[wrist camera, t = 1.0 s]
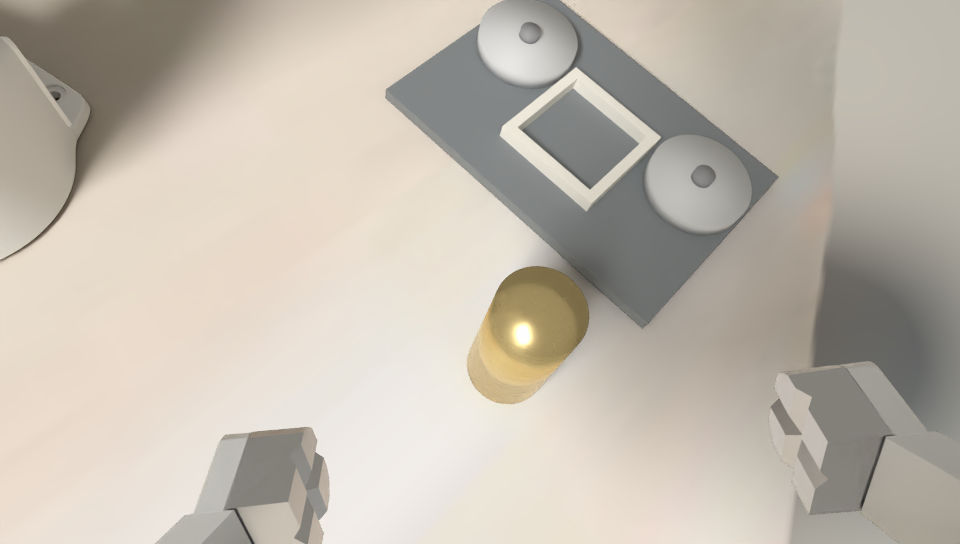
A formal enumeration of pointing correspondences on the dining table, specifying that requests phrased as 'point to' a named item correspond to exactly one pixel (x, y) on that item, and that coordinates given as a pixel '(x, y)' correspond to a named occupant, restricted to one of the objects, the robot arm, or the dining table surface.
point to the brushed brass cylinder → (526, 334)
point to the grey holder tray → (585, 149)
